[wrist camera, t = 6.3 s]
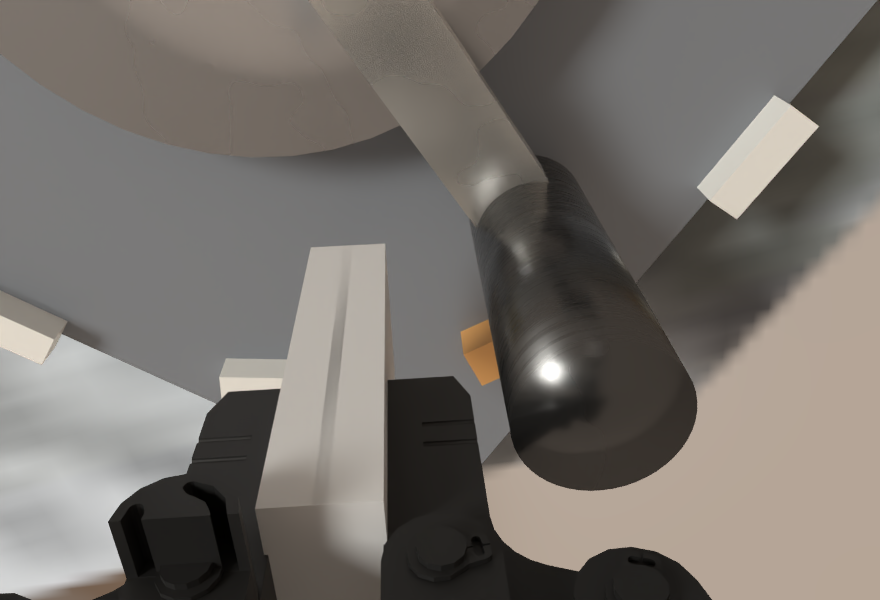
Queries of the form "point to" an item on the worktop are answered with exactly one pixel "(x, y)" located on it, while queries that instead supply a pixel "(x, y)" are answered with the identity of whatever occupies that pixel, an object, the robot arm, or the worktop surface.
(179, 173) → the dial plate
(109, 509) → the worktop surface
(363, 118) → the dial
